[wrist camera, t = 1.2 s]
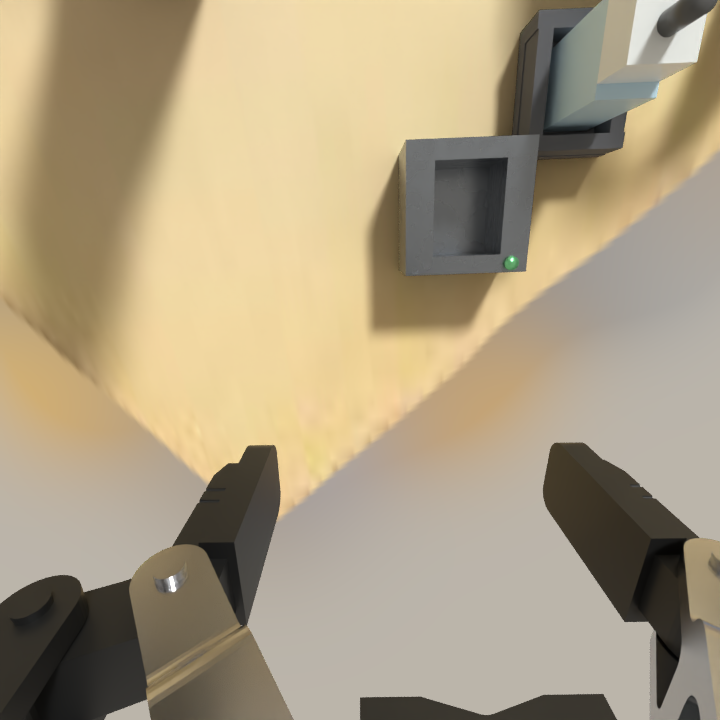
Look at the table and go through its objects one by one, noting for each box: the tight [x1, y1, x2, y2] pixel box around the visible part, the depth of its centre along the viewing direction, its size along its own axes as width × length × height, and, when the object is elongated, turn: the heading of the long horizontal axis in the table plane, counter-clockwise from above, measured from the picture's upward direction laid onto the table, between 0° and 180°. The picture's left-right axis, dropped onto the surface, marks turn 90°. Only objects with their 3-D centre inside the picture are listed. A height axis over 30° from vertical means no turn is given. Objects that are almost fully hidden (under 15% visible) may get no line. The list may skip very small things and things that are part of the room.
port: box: [398, 134, 540, 276], centre depth 29 cm, size 9×9×5 cm
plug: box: [543, 0, 717, 132], centre depth 22 cm, size 5×4×12 cm
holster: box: [512, 7, 627, 160], centre depth 27 cm, size 8×7×3 cm
